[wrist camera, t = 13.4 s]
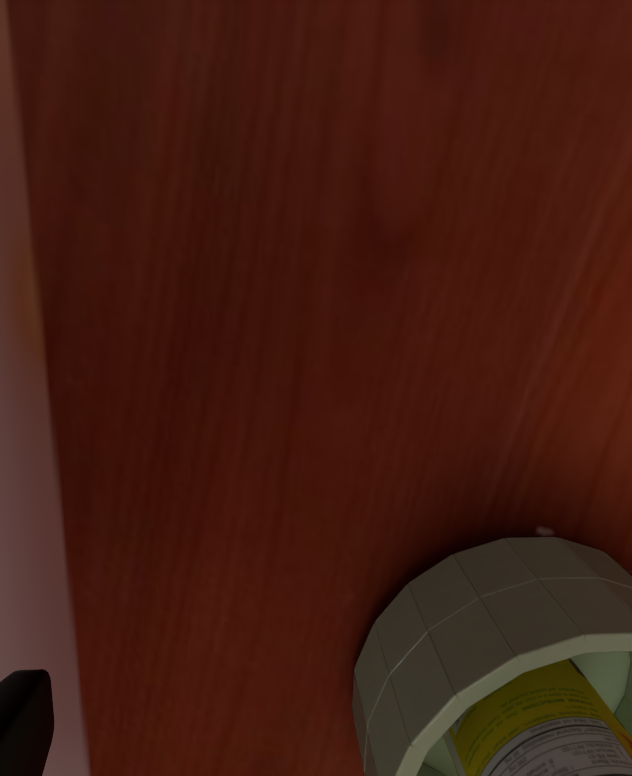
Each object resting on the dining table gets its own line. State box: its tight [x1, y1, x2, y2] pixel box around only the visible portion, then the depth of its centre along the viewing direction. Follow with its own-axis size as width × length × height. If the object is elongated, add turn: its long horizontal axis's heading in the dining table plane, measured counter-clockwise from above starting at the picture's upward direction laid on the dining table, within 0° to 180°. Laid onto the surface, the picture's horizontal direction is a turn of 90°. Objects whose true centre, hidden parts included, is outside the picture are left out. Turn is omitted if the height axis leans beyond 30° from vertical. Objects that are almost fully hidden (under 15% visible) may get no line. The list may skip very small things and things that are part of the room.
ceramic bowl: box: [352, 537, 632, 776], centre depth 20 cm, size 12×12×6 cm
